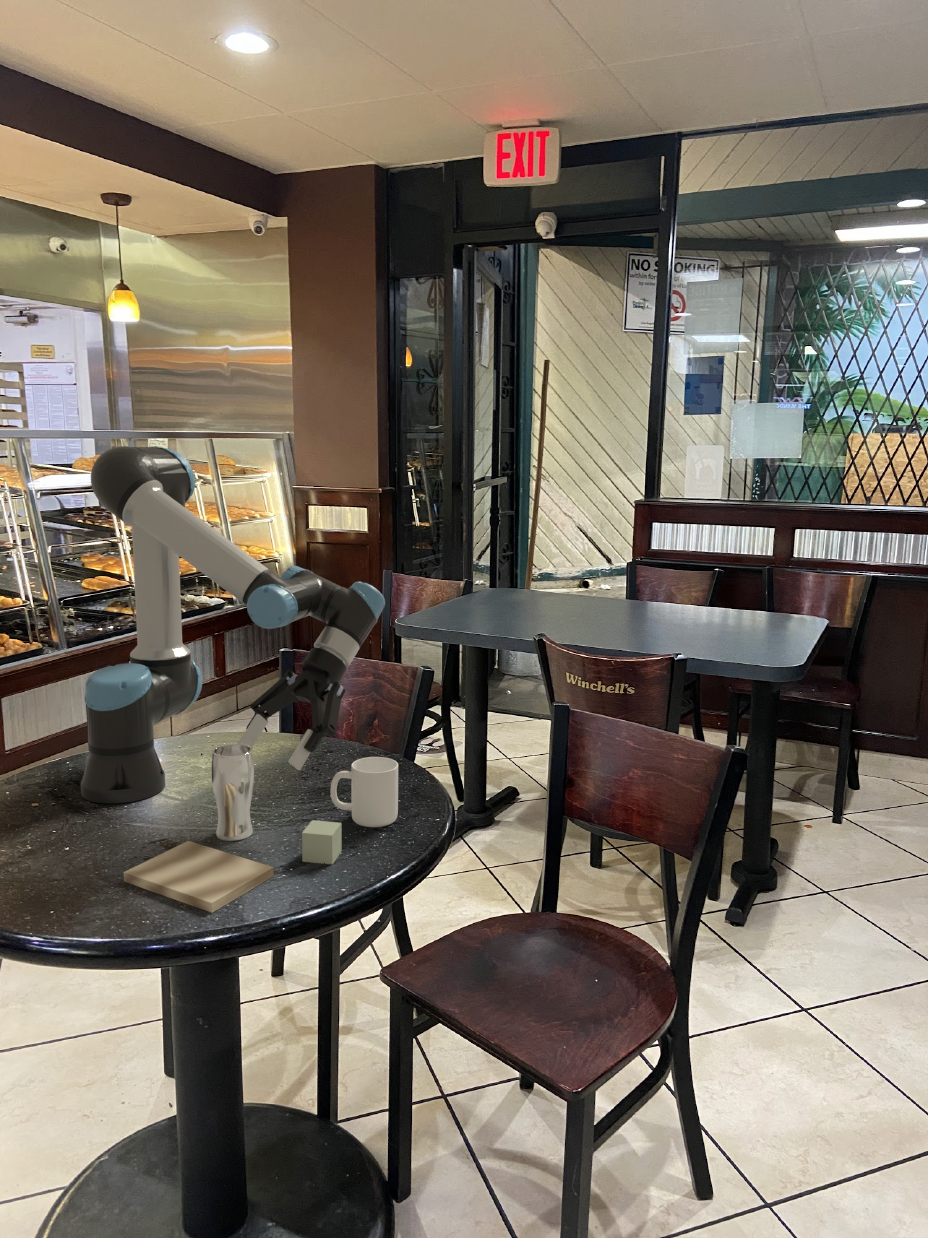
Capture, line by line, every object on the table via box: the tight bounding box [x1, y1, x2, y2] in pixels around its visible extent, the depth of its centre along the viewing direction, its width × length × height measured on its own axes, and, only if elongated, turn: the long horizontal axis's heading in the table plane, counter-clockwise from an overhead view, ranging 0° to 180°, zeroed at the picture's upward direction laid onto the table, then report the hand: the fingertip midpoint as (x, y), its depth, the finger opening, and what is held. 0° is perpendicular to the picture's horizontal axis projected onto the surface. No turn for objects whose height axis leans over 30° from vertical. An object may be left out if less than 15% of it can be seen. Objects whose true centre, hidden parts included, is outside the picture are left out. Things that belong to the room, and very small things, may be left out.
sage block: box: [301, 819, 343, 865], centre depth 143 cm, size 5×5×5 cm
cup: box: [330, 756, 399, 828], centre depth 158 cm, size 8×12×10 cm
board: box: [123, 840, 275, 914], centre depth 135 cm, size 18×13×2 cm
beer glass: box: [210, 743, 255, 842], centre depth 150 cm, size 7×7×15 cm
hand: (267, 757), depth 153 cm, fingers open, 13 cm apart
